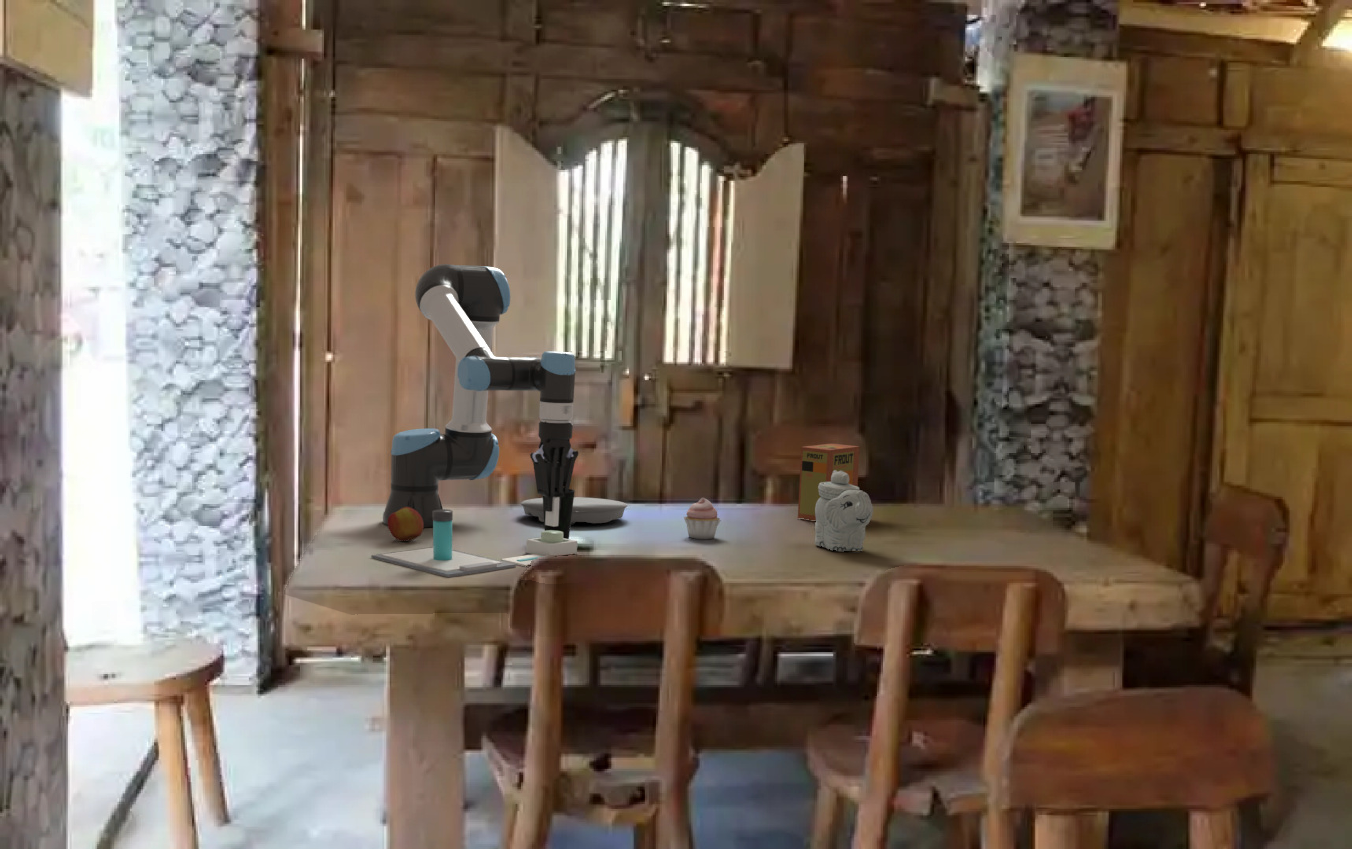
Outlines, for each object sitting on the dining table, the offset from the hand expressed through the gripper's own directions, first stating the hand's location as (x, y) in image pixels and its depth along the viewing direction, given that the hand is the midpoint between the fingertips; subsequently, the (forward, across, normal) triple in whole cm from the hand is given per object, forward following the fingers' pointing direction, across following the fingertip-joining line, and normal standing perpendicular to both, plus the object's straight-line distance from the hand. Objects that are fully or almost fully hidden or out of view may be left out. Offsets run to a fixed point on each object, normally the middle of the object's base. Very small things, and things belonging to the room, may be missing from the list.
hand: (551, 525), depth 299 cm
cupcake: (+7, +45, -6) cm, 46 cm away
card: (+6, -10, -4) cm, 13 cm away
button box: (+6, 0, 0) cm, 6 cm away
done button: (+5, 0, 0) cm, 5 cm away
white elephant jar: (+6, +60, -38) cm, 71 cm away
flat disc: (+7, +38, +32) cm, 50 cm away
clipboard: (+6, -26, +6) cm, 27 cm away
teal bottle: (+5, -26, +6) cm, 27 cm away
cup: (+7, +13, +12) cm, 19 cm away
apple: (+7, -17, +31) cm, 36 cm away
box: (+7, +99, -6) cm, 99 cm away
